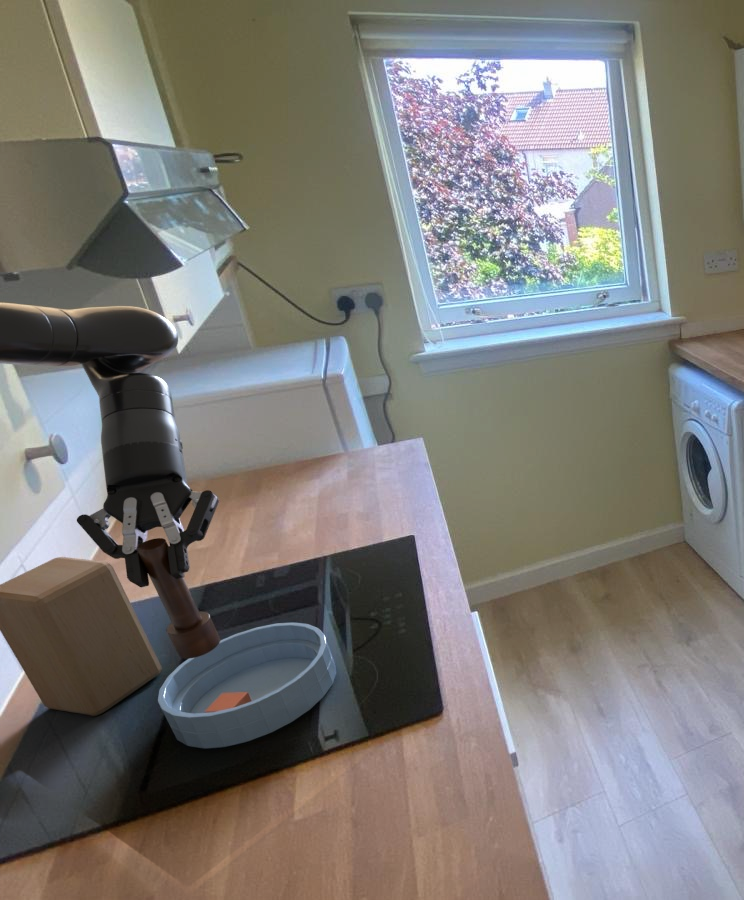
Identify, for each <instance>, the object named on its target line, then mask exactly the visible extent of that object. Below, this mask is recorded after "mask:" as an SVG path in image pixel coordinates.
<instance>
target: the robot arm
mask: <svg viewBox="0 0 744 900" xmlns="http://www.w3.org/2000/svg"><path fill="white" fill-rule="evenodd" d="M178 343H179V333H178V331H177V328H175V326H174V324H172V322H171V321H170V320H168V319H167V317H165V316H163V315H162V314H160V313H158V312H156V311H153V310H150V309H147V308H143V307H139V306H133V305H132V306H131V305H129V306H128V305H112V306H110V305H109V306H94V307H93V306H91V307H81V308H72V309H71V308H70V309H69V308H68V309H65V308H59V307H51V306H43V305H32V304H25V303H24V304H23V303H13V302H3V301H0V364H1V365H2V364H3V365H17V366H18V365H19V366H39V367H40V366H41V367H72V366H73V367H74V366H79V365H81V366H82V368H83V370H84V372H85V375H86V376H87V377H88V379H89V381H90V383H91V386H92V388H93V389H94V391H95V392H96V394H97V396H98V398H99V399H98V402H99V411H100V419H101V432H100V433H101V434H100V444H101V452H102V461H103V462H102V463H103V469H104V479H105V488H106V493H107V494H106V495H107V496H106V499H105V501H103V504H102V505H103V506H102V507H103V508H101V509H99V510H97V511H96V512H93V513H92V514H90V515H89V514H85V513H83V514H81V515H78V516H77V517H76V523H77V524H78V525H79V526H80V527H81V528H82V529H83V531H84V532H85V533H86V534H87V535H88V537H90V539H91V540H92V541H93V542H94V543H95V544H96V545H97V546H98V548H99V549H100V550H101V551H102V552H103V553H105V554H106V555H107V556H109V557H110V558H112V559H115V560H119V559H124V562H125V563H124V564H125V572H126V578H127V580H128V581H129V582H131V583H132V584H134V585H136V586H137V587H139V588H146V587H149V586H150V580H149V574H148V572H147V570H146V568H145V566H144V564H143V562H142V560H141V558H140V556H139V554H138V552H137V550H136V548H137V546H138V545H140V544H141V543H143V542H145V541H148V531H150V530H152V529H155V528H162V529H163V530H164V533H165V536H166V538H167V542H168V543H169V545H168V547H167V551H168V558H169V565H170V572H171V575H172V576H173V577H174V578H176V579H179V578H185V573H188V572H189V570H190V568H191V567H190V560H189V554H188V553H189V552H188V547H189V546H190V545H191V544H193V543H195V542H202V540H204V539H205V537H206V534H207V532H208V530H209V529H210V525H211V523H212V520H213V518H214V515H215V512H216V510H217V508H218V505H219V503H220V499H219V498H218V497H217V495H216V494H215V493H213V492H212V491H211V490H209V489H207V490H203V491H196V490H193V489H192V488H191V487H190V486H189V484H188V479H187V474H186V468H185V467H186V466H185V459H184V455H183V454H184V453H183V448H184V447H183V441H182V440H181V434H180V431H179V428H178V426H177V425H178V424H177V421H176V417H175V411H174V410H175V409H174V404H173V397H172V392H171V388H170V386H169V384H168V383H167V382H166V381H165V380H164V379H162V378H161V377H159V376H157V375H154V374H150V373H144V372H142V370H144V369H146V368H148V367H149V366H151V365H153V364H155V363H157V362H160V361H161V360H163V359H166V358H167V357H168V356H170V355H171V354H172V353H173V352H174V351H175V350H176V349H177V347H178ZM191 502H192V503H191ZM190 504H191V505H192V506H193V507H194V510H193V512H192V515H191V517H190V519H189V522H188V524H187V527H186V529H184V526H183V523H182V521H181V516H182V515H183V513H184V512H185V510H186V509H187V508H188V506H189V505H190ZM110 518H113V519H115V520H117V521H118V522H119V523H121V524H122V527H121V534H122V537H123V538H122V544H118V542H116V540H115V539H114V538H113V537H112V536H111V534H109V532H108V531H107V530H108V529H109V527H110V522H109V519H110Z"/></svg>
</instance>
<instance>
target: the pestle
mask: <svg viewBox="0 0 744 900" xmlns="http://www.w3.org/2000/svg"><path fill="white" fill-rule="evenodd" d="M168 546H169V545H168V541H167V539H165V538H162V537H157V538H151V539H147V540H146V541H145V542H143V543H141V544H140V545H138V546H137V548H136V550H137V552H138V554H139V556H140V558H141V560H142V562H143V564H144V566H145V568H146V570H147V572H148V578H150V580H151V583H152V584H153V587H154V589H155V592H156V593H157V595H158V597H159V599H160V601H161V603H162V605H163V607H164V609H165V611H166V614H167V616H168V617H169V620H170V623H169V624H168V626H167V627H166V632H167V635H168V636H169V639H170V640H171V643H172V644H173V647H174V648H175V651H176V653H177V654H178V656H179V657H180V658H181V659H189V658H195V657H199V656H202V655H204V654H206V653H208V652H210V651H212V650H213V649H215V648H216V647H217V646H218V644H219V643H220V641H221V638H220V635H219V633H218V631H217V628H216V626H215V624H214V621H213V620H212V618H211V617H212V616H211V615H210V614H209V613H208V612H206V611H200V610H199V608H198V607H197V604H196V602H195V600H194V598H193V596H192V594H191V591H190V589H189V587H188V585H187V582H186V581H185V577H183V578H179V579H176V578H174V577H173V576H172V575H171V572H170V565H169V558H168V551H167V547H168Z"/></svg>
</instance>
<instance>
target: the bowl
mask: <svg viewBox="0 0 744 900" xmlns="http://www.w3.org/2000/svg"><path fill="white" fill-rule="evenodd" d="M337 674H338V673H337V666H336V662H335V659H334V656H333V654H332V651H331V647H330V646H329V643H328V639H327V637H326V634H324V633H323V631H322V630H321V629H320V628H319V627H316V626H315V625H311V624H309V623H303V622H294V621H293V622H280V623H272V624H267V625H261V626H258V627H254V628H251V629H247V630H244V631H241V632H237V633H234V634H232V635H230V636H228V637H225V638H223V639H220V643H219V644H218V646H217V647H216V648H215V649H213V650H212V651H210V652H208V653H206V654H204V655H202V656H199V657H195V658H187V659H185V661H183V662H182V663H181V664H179V665H178V666H177V667H176V668H175V669H174V670H173V671H172V672H171V673H170V674H169V675H167V676H166V678H165V680H164V682H163V684H162V685H161V687H160V688H159V690H158V697H157V703H158V704H159V707H160V709H161V711H162V713H163V715H164V716H165V719H166V720H167V723H168V725H169V726H170V727H169V728H171V731H172V733H173V735H174V737H175V739H176V740H177V741H178V742H180V743H182V744H184V745H185V746H187V747H191V748H199V749H217V748H227V747H231V746H236V745H240V744H243V743H247V742H251V741H253V740H255V739H258V738H261V737H264V736H266V735H269V734H271V733H274V732H275V731H277V730H279V729H281V728H283V727H285V726H287V725H288V724H291V723H292V722H294V721H295V720H297V719H298V718H300V717H301V716H302V715H304V714H306V713H307V712H309V711H310V710H311V709H312V708H313V707H315V706H316V705H317V703H319V702H320V701H321V700H322V699H323V698H324V697H325V696H326V694H327V693H328V692H329V690H330V689H331V687H332V686H333V684H334V683H335V679H336V676H337ZM238 692H248V694H249V696H250V698H251V702H249V703H246V704H243V705H240V706H237V707H234V708H230V709H225V710H221V711H216V712H210V713H205V710H206V709H207V708H208V707H209V706H210V705H211V704H212V703H213V702H214V701H215V700H216V699H217V698H218V697H219V696H220V695H221V694H222V693H238Z"/></svg>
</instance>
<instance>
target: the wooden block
mask: <svg viewBox="0 0 744 900" xmlns="http://www.w3.org/2000/svg"><path fill="white" fill-rule="evenodd" d="M133 607H134V606H132V603H131V601H130V599H129V597H128V595H127V593H126V591H125V589H124V587H123V585H122V583H121V580H120V578H119V577H118V573H116V570H115V568H114V566H113V565H112V564H110V562H108V561H102V560H94V559H84V558H76V557H66V556H58V557H54V558H52V559H50V560H48V561H46V562H44V563H42V564H40V565H38V566H36V567H33V568H31V569H29V570H27V571H25V572H24V573H22V574H19V575H17V576H15V577H13V578H11V579H9V580H7V581H5V582H3V583H1V584H0V633H1V634H2V636H3V638H4V639H5V641H6V643H7V645H8V646H9V648H10V649H11V652H12V654H13V655H14V656H15V658H16V660H17V662H18V664H19V665H20V667H21V669H22V670H23V673H24V674H25V675H26V677H27V679H28V681H29V682H30V684H31V685H32V687H33V689H34V691H35V693H36V694H37V695H38V698H39V699H40V701H41V702H42V705H43V706H44V707H46V708H47V709H51V710H57V711H62V712H69V713H75V714H81V715H87V716H93V717H94V716H98V715H102V714H103V713H105V712H106V711H108V710H109V709H111V708H112V707H114V706H115V705H117V704H118V703H119V702H121V701H123V700H124V699H125V698H127V697H128V696H130V695H131V694H133V693H134V692H135V691H137V690H138V689H140V688H142V686H144V685H146V684H147V683H149V682H150V681H151V680H153V679H154V678H156V677H157V676H158V675H160V674H161V673H162V670H163V668H162V667H163V666H162V665H161V662H160V661H159V659H158V657H157V655H156V653H155V650H154V648H153V646H152V644H151V642H150V640H149V638H148V636H147V634H146V632H145V630H144V628H143V626H142V624H141V621H140V619H139V618H138V615H137V613H136V611H135V609H134V608H133Z"/></svg>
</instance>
